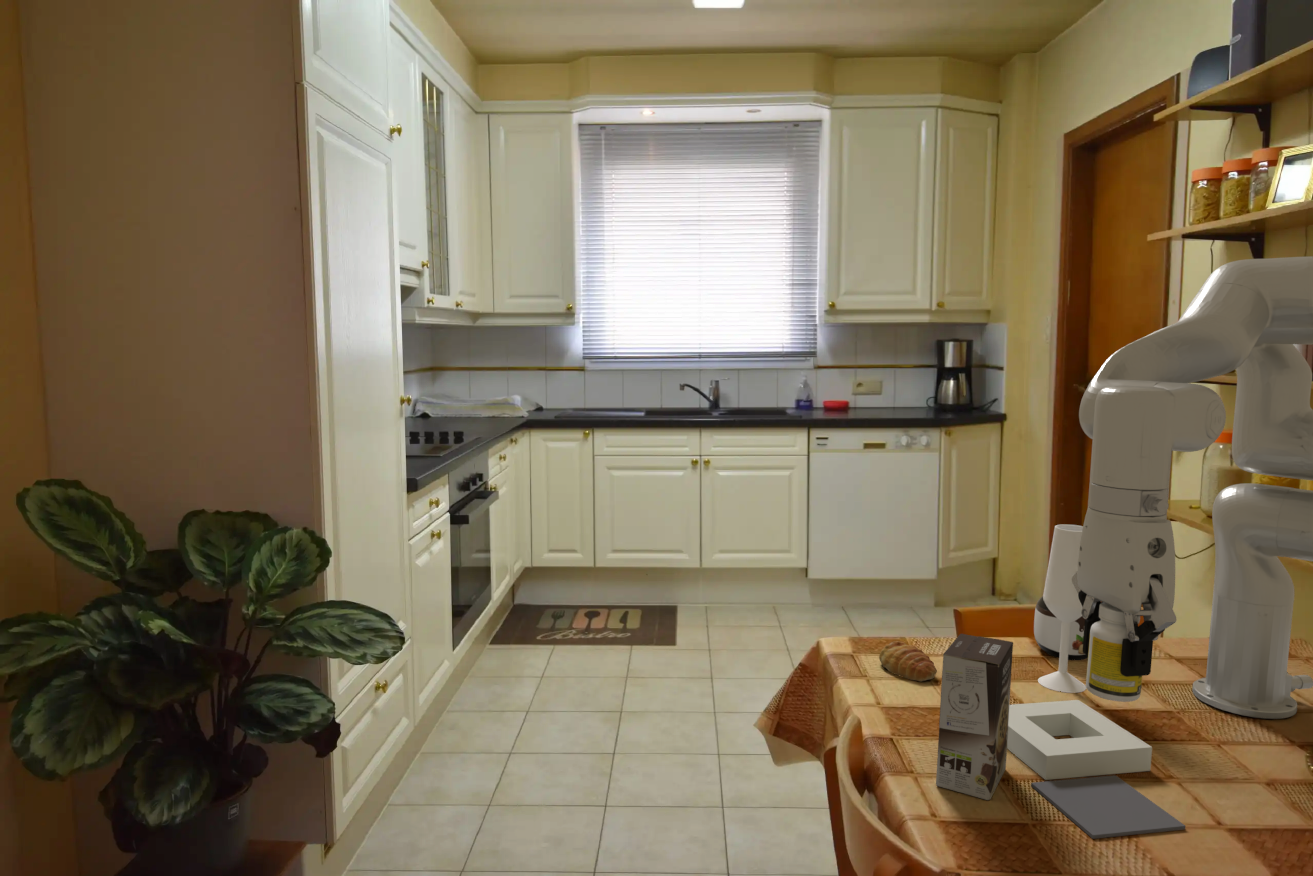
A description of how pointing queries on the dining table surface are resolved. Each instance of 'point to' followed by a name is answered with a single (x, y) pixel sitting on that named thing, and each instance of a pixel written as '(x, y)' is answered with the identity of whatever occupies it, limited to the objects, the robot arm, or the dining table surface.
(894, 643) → the pastry
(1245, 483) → the robot arm
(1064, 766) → the socket block
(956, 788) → the coffee box
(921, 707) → the dining table surface
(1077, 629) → the spread jar
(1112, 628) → the supplement bottle
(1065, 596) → the champagne flute
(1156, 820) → the mat
